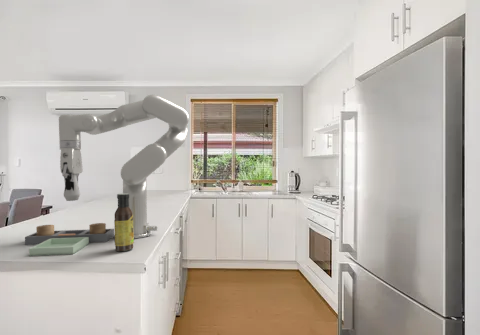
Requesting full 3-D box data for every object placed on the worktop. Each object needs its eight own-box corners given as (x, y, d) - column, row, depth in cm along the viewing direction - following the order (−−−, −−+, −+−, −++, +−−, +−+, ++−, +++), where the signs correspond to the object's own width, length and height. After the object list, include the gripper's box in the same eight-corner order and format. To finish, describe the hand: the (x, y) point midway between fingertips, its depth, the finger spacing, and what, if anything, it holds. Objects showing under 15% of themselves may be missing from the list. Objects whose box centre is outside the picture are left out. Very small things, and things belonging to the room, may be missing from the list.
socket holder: (114, 235, 131) (114, 227, 131) (106, 241, 121) (106, 233, 121) (39, 238, 128) (38, 230, 127) (24, 244, 118) (24, 236, 117)
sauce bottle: (136, 250, 108) (135, 193, 108) (117, 253, 105) (116, 195, 104) (130, 246, 114) (129, 192, 113) (113, 249, 110) (112, 193, 110)
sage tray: (88, 243, 118) (88, 237, 118) (73, 254, 104) (73, 246, 104) (50, 245, 117) (50, 238, 117) (29, 256, 103) (29, 248, 103)
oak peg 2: (107, 237, 129) (107, 222, 129) (103, 240, 123) (102, 225, 123) (92, 237, 128) (92, 223, 128) (87, 241, 122) (87, 226, 122)
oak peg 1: (57, 239, 126) (56, 224, 126) (49, 242, 120) (49, 227, 120) (41, 239, 126) (41, 225, 126) (33, 243, 120) (33, 228, 120)
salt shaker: (72, 201, 121) (71, 168, 120) (60, 201, 122) (59, 168, 122) (83, 199, 126) (82, 167, 126) (71, 199, 128) (70, 168, 127)
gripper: (71, 144, 116) (73, 193, 116) (87, 146, 132) (89, 189, 133) (50, 144, 115) (51, 193, 115) (69, 147, 131) (70, 190, 132)
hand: (71, 191), depth 124 cm, fingers closed on salt shaker, 3 cm apart
